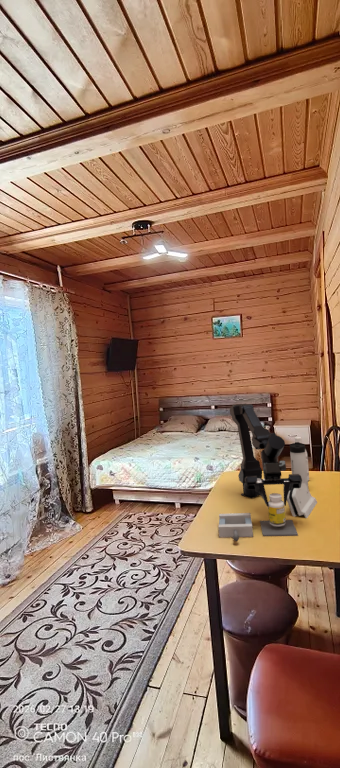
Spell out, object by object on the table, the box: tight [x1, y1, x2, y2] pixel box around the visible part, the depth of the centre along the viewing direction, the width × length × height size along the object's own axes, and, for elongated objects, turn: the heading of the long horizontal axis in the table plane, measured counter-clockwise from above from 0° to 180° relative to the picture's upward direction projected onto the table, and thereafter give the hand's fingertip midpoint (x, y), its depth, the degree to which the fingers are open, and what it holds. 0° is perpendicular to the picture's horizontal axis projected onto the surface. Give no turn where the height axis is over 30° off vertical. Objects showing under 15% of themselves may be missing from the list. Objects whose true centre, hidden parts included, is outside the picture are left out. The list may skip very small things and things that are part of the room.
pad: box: [259, 519, 299, 537], centre depth 127 cm, size 11×11×1 cm
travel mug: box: [289, 441, 309, 489], centre depth 161 cm, size 6×7×20 cm
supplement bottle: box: [267, 492, 286, 526], centre depth 127 cm, size 5×5×10 cm
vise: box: [217, 512, 254, 542], centre depth 126 cm, size 16×11×4 cm, turn 171°
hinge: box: [286, 483, 318, 519], centre depth 141 cm, size 17×5×10 cm, turn 146°
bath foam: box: [294, 436, 310, 481], centre depth 173 cm, size 7×7×20 cm
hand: (276, 505), depth 125 cm, fingers closed on supplement bottle, 5 cm apart
